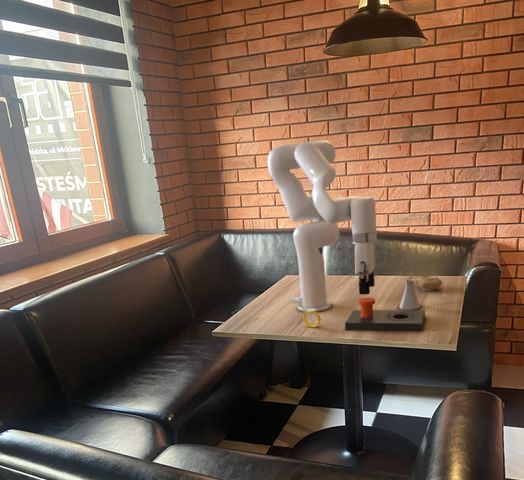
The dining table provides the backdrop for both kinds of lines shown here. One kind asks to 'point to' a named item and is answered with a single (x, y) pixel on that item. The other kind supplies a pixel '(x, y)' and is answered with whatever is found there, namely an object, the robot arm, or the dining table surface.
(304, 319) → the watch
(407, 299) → the flask
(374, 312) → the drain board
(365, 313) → the stopper
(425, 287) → the oil lamp
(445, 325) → the dining table surface
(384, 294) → the dining table surface
